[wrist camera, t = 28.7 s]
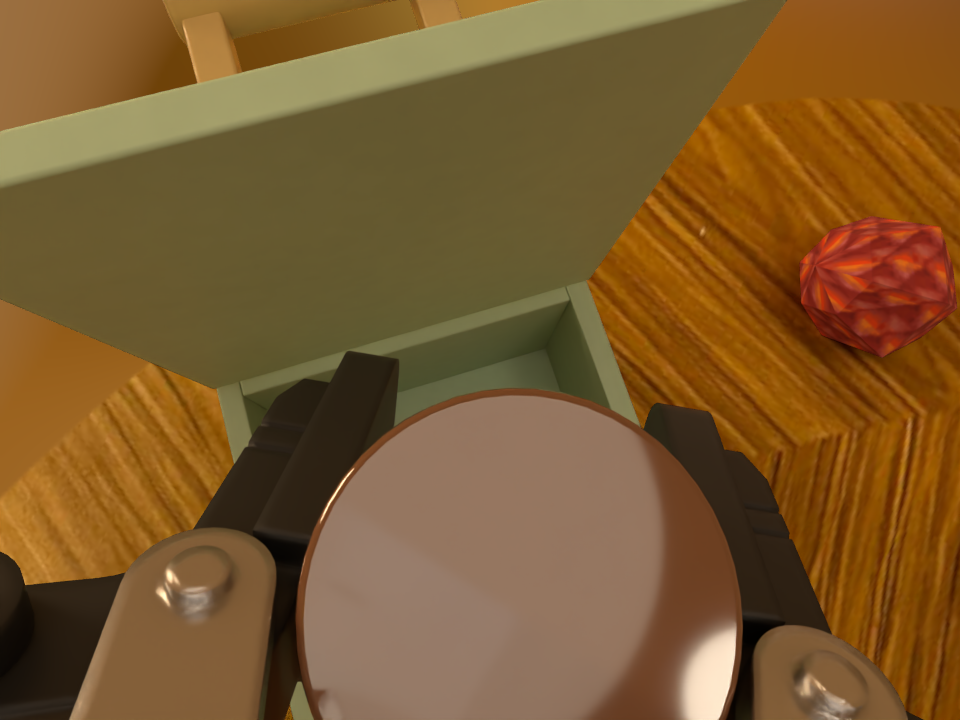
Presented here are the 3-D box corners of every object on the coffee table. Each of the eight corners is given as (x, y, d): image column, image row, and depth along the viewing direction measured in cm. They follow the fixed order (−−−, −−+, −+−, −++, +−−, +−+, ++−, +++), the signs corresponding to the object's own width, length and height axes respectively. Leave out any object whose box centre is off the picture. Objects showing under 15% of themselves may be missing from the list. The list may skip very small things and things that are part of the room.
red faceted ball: (862, 373, 35) (748, 343, 31) (875, 248, 35) (765, 205, 32) (1000, 373, 29) (878, 336, 26) (1013, 223, 29) (895, 168, 26)
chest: (655, 620, 29) (725, 654, 22) (351, 727, 28) (312, 804, 20) (553, 332, 32) (584, 274, 25) (273, 416, 31) (214, 381, 23)
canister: (423, 667, 15) (361, 949, 5) (377, 500, 15) (245, 458, 6) (583, 611, 15) (821, 770, 5) (530, 452, 16) (651, 334, 6)
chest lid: (801, -16, 10) (682, -283, 11) (-174, 229, 8) (-227, -102, 9) (590, 279, 24) (546, 155, 25) (212, 389, 23) (178, 253, 23)
